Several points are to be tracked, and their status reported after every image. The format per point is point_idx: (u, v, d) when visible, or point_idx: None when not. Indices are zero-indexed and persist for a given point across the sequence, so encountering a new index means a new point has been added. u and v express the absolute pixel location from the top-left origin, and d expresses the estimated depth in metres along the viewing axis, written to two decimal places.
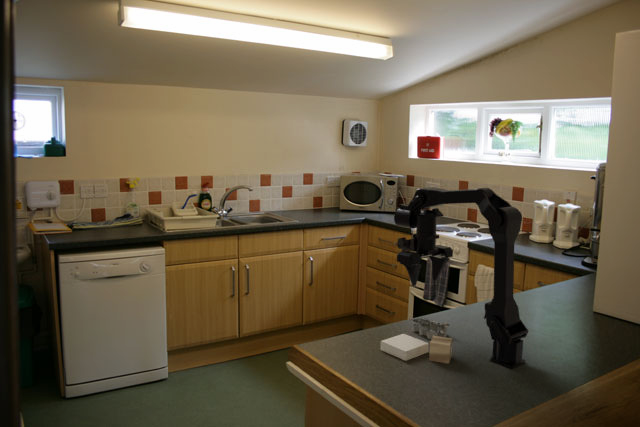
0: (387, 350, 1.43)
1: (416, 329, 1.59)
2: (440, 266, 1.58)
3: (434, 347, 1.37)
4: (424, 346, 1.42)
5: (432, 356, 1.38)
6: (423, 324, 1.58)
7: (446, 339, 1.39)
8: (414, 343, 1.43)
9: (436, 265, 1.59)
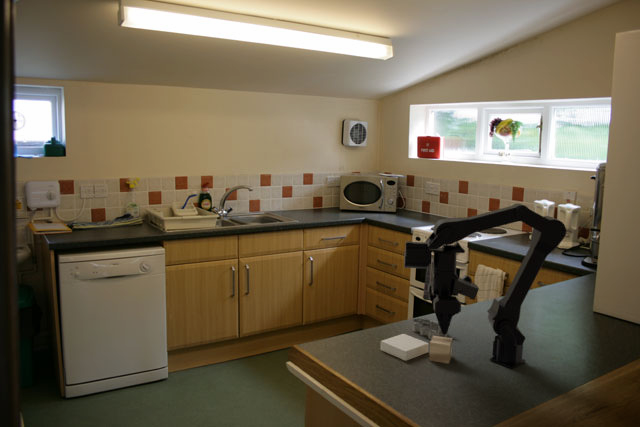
0: (387, 350, 1.43)
1: (417, 329, 1.59)
2: None
3: (434, 347, 1.37)
4: (424, 346, 1.42)
5: (432, 356, 1.38)
6: (424, 324, 1.58)
7: (446, 339, 1.39)
8: (414, 343, 1.43)
9: None
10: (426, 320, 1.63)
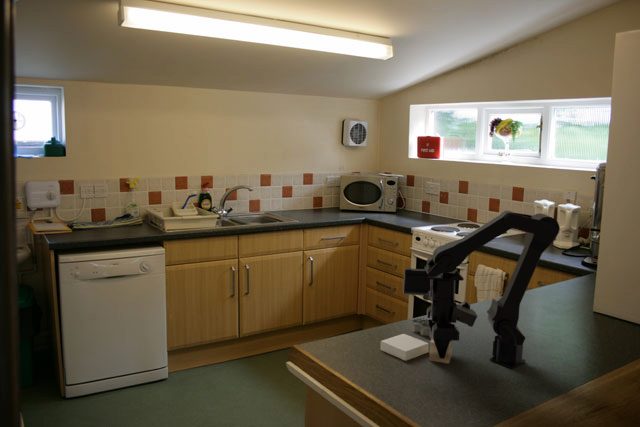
0: (387, 350, 1.43)
1: (417, 329, 1.58)
2: None
3: (434, 347, 1.37)
4: (424, 346, 1.42)
5: (433, 356, 1.38)
6: (424, 324, 1.58)
7: None
8: (414, 343, 1.43)
9: None
10: (425, 320, 1.63)
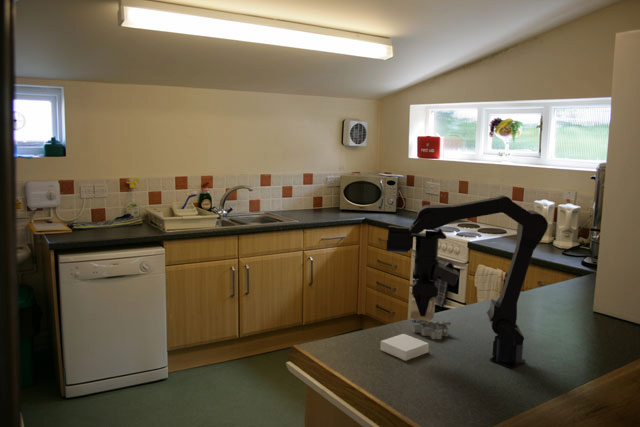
0: (387, 350, 1.43)
1: (417, 330, 1.58)
2: None
3: (415, 305, 1.38)
4: (424, 346, 1.42)
5: (414, 314, 1.38)
6: (424, 324, 1.58)
7: None
8: (414, 343, 1.43)
9: None
10: None
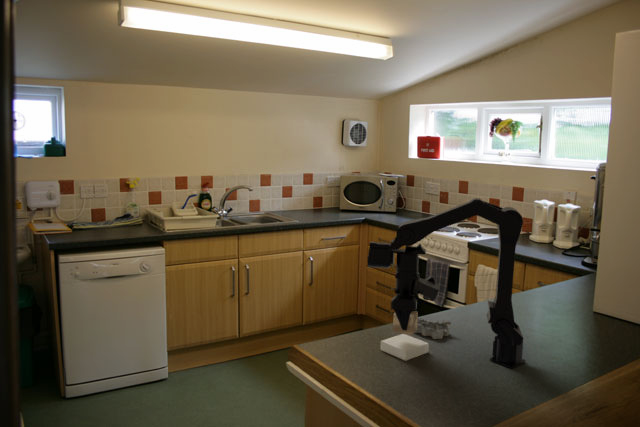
0: (387, 350, 1.43)
1: (417, 330, 1.58)
2: None
3: (397, 318, 1.41)
4: (424, 346, 1.42)
5: (396, 328, 1.42)
6: (424, 324, 1.58)
7: None
8: (414, 343, 1.43)
9: None
10: (422, 320, 1.62)
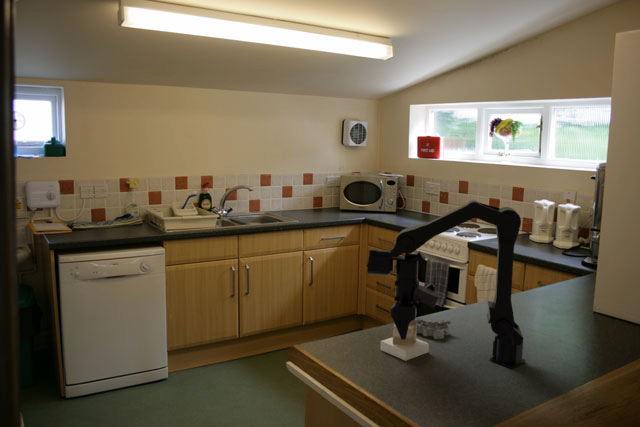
0: (387, 350, 1.43)
1: (417, 331, 1.57)
2: None
3: (397, 330, 1.41)
4: (424, 346, 1.42)
5: (396, 340, 1.42)
6: (424, 325, 1.58)
7: (410, 323, 1.43)
8: (414, 343, 1.43)
9: None
10: (421, 320, 1.62)
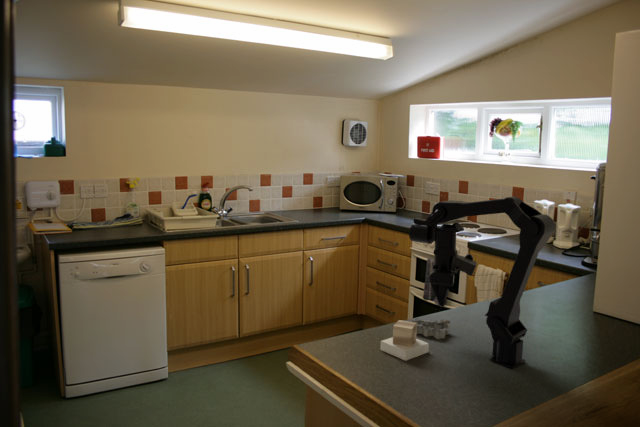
0: (387, 350, 1.43)
1: (418, 331, 1.57)
2: None
3: (397, 330, 1.41)
4: (424, 346, 1.42)
5: (396, 340, 1.42)
6: (424, 325, 1.57)
7: (410, 323, 1.43)
8: (414, 343, 1.43)
9: None
10: (419, 321, 1.62)
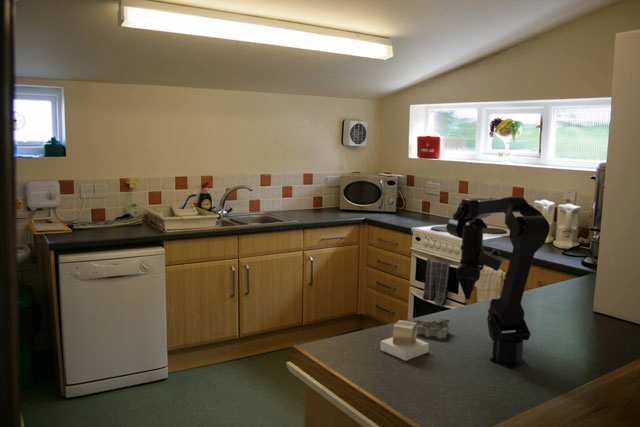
0: (387, 350, 1.43)
1: (419, 332, 1.56)
2: None
3: (397, 330, 1.41)
4: (424, 346, 1.42)
5: (396, 340, 1.42)
6: (424, 325, 1.57)
7: (410, 323, 1.43)
8: (414, 343, 1.43)
9: None
10: (417, 321, 1.62)
